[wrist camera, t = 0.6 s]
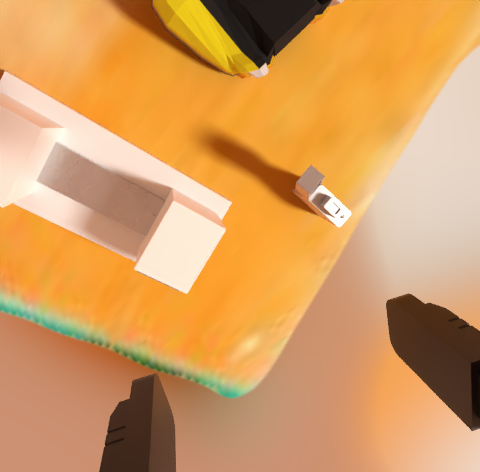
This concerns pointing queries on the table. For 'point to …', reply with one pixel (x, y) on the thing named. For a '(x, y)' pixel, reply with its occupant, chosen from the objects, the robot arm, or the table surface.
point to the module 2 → (179, 242)
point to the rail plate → (111, 157)
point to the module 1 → (23, 148)
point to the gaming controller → (239, 29)
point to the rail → (100, 189)
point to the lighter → (320, 197)
